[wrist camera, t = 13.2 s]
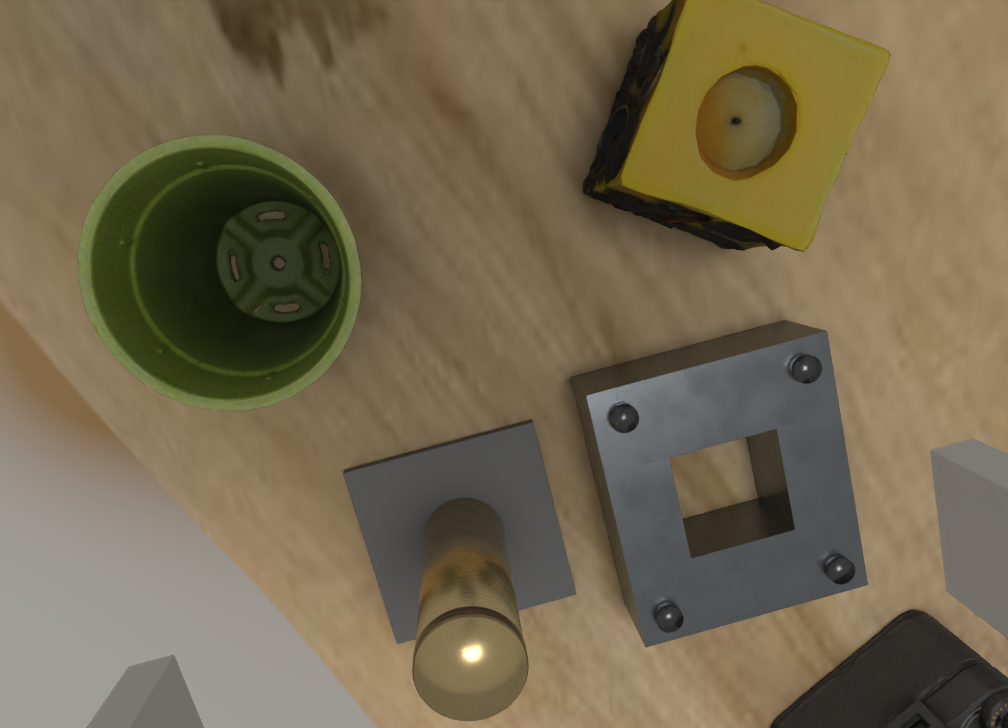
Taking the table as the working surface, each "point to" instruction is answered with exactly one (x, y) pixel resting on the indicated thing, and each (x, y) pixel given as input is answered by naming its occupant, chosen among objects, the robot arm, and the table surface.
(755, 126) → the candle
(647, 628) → the housing
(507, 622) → the plug
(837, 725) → the camera
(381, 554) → the mat
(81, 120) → the table surface
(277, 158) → the plant pot
